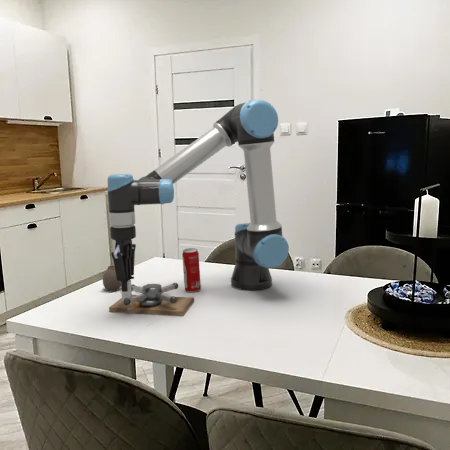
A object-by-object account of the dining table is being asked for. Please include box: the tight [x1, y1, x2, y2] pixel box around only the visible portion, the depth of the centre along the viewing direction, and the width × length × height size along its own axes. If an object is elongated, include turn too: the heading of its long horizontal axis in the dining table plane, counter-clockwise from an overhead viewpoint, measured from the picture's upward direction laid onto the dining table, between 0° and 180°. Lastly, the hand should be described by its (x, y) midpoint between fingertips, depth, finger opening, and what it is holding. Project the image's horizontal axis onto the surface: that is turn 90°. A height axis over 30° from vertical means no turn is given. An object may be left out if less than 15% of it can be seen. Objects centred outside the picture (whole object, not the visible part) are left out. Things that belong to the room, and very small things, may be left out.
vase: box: [102, 264, 121, 292], centre depth 164 cm, size 7×7×9 cm
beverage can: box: [181, 247, 202, 293], centre depth 161 cm, size 6×6×15 cm
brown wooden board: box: [108, 294, 195, 317], centre depth 145 cm, size 24×14×2 cm, turn 79°
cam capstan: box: [123, 282, 179, 307], centre depth 145 cm, size 22×22×5 cm
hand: (126, 300), depth 140 cm, fingers closed
